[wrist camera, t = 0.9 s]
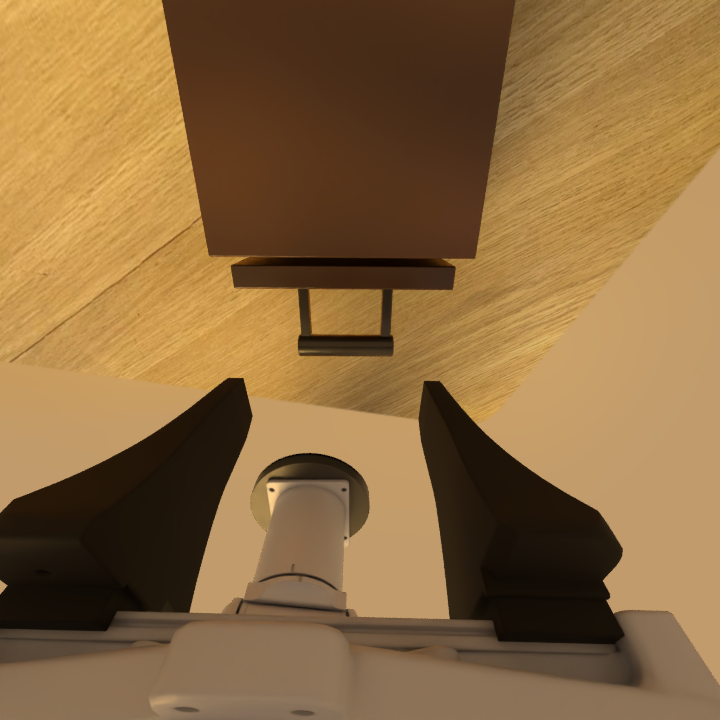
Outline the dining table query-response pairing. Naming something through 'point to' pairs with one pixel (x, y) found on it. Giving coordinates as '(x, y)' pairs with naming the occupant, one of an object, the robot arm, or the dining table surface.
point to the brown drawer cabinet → (340, 122)
